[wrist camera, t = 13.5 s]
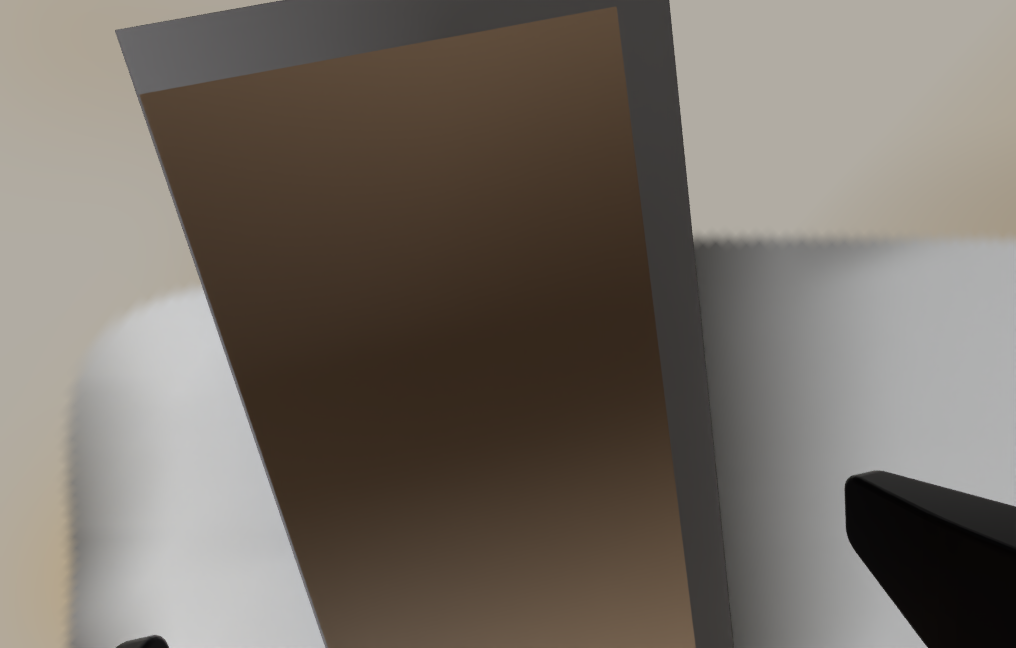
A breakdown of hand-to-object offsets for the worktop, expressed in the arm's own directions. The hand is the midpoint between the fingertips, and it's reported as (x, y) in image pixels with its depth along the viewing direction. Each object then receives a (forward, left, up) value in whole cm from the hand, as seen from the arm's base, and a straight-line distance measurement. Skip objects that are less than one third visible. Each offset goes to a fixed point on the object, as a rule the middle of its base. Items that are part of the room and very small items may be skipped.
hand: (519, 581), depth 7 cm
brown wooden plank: (0, +3, -3) cm, 4 cm away
